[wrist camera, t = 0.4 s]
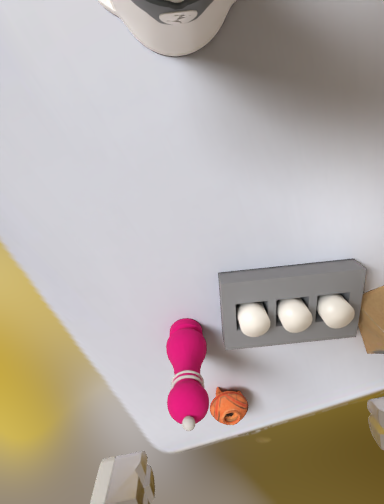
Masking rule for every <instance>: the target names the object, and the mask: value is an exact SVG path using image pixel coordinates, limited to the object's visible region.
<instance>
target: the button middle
mask: <svg viewBox="0 0 384 504" xmlns="http://www.w3.org/2000/svg"><path fill="white" fill-rule="evenodd" d="M276 313H277V315H278V317H279V319H280V321H281V323H282V325H283V327H284V328H285V330H287V331H289V332H292V333H298V332H302V331H304V330H306V329H307V328H308V327H309V326H310V325H311V323H312V314H311V313H310V311H309V310H308V308H307V307H306V305H305V304H304V302H303V301H302V299H301V298H300V297H299V298H290V299H280V300H278V301H277V303H276Z"/></svg>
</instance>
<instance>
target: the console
mask: <svg viewBox="0 0 384 504" xmlns="http://www.w3.org/2000/svg"><path fill="white" fill-rule="evenodd" d="M366 270H367V269H366V268H365V267H364V266H362V265H361V264H360V263H359V262H357V261H356V260H355V259H345V260H335V261H326V262H316V263H307V264H297V265H288V266H278V267H269V268H259V269H250V270H240V271H231V272H221V273H218V277H219V291H220V305H221V319H222V333H223V340H224V345H225V350H233V349H243V348H252V347H262V346H272V345H281V344H291V343H301V342H310V341H320V340H329V339H339V338H349V337H356V334H357V328H358V322H359V315H360V309H361V302H362V296H363V290H364V283H365V277H366ZM338 293H340V294H341V296H342V297H343V298H344V299H345V300H346V301H347V302H348V303H349V304H350V305H351V306H352V307H353V309H354V312H355V315H354V318H353V320H352V321H351V322H350V323H349V324H348V325H347V326H345V327H342V328H337V329H335V328H331V327H329V326H327V325H326V323H325V322H324V321H323V319H322V318H321V316H320V315H319V314H318V312H317V311H316V307H317V296H319V295H328V294H338ZM299 297H300V298H301V299H302V301H303V302H304V304H305V305H306V307H307V308H308V310H309V311H310V313H311V314H312V323H311V325H310V326H309V327H308V328H307V329H306V330H304V331H302V332H298V333H292V332H289V331H287V330H285V328H284V327H283V325H282V323H281V321H280V319H279V317H278V315H277V313H276V303H277V301H278V300H280V299H290V298H299ZM252 302H261V303H262V304H263V306H264V308H265V310H266V313H267V315H268V317H269V319H270V328H269V330H268V331H267V332H266V333H265V334H263V335H261V336H258V337H249V336H247V335H245V334H244V333H243V332H242V331H241V328H240V324H239V321H238V318H237V314H236V308H237V306H238V305H239V304H242V303H252Z"/></svg>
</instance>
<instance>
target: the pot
mask: <svg viewBox="0 0 384 504" xmlns="http://www.w3.org/2000/svg"><path fill="white" fill-rule="evenodd" d="M247 410H248V403H247V400H246V398H245V397H244V396H243V395H242V393H241V392H240V391H237V392H235V391H225V392H221V390H220V389H219V387H217V390H216V397H215V398H214V399H213V401H212V403H211V405H210V412H211V414H212V416H213V417H214V418H215V419H216V420H217V421H219V422H220V423H223V424H226V425H234V424H237V423H238V422H239V421H240V420H241V419H242V418H243V417H244V416H245V414H246V412H247Z"/></svg>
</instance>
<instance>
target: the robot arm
mask: <svg viewBox="0 0 384 504" xmlns="http://www.w3.org/2000/svg"><path fill="white" fill-rule="evenodd" d="M236 1H237V0H98V2H99V3H100V4H101V5H102V6H103V7H104V8H105V9H107V10H108V11H110V12H111V13H113V14H115V15H116V16H118V17H119V18H120V19H121V20H122V21H123V22H124V24H125V25H126V26H127V28H128V29H129V30H130V32H131V33H132V34H133V35H134V37H135V38H136V39H137V40H138V41H139V42H141V43H142V44H143V45H144V46H146V47H147V48H149V49H151V50H152V51H155V52H157V53H160V54H163V55H168V56H182V55H187V54H190V53H193V52H195V51H197V50H199V49H200V48H202V47H203V46H205V45H206V44H207V43H208V42H209V41H210V40H211V39H212V38H213V37H214V36H215V35H216V34H217V32H218V31H219V29H220V28H221V26H222V24H223V22H224V20H225V18H226V16H227V13H228V11H229V9H230V8H231V6H232V4H233V3H234V2H236ZM367 406H368V410H369V411H370V412H371V415H370V417H369V418H368V420H369V427H370V430H371V432H372V435H373V437H374V438H375V440H376V442H377V444H378V445H379V446H380V448H381V449H383V450H384V397H380V398H375V399H371V400H368V403H367ZM147 458H148V457H147V455H146V453H145V451H140V452H135V453H130V454H125V455H120V456H115V457H110V458H105V459H103V460H102V462H101V464H100V467H99V471H98V475H97V479H96V483H95V486H94V491H93V494H92V498H91V502H90V504H151V503H152V501H153V500H154V497H155V483H154V475H153V471H152V468H151V466H149V465H148V464H147Z"/></svg>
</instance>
